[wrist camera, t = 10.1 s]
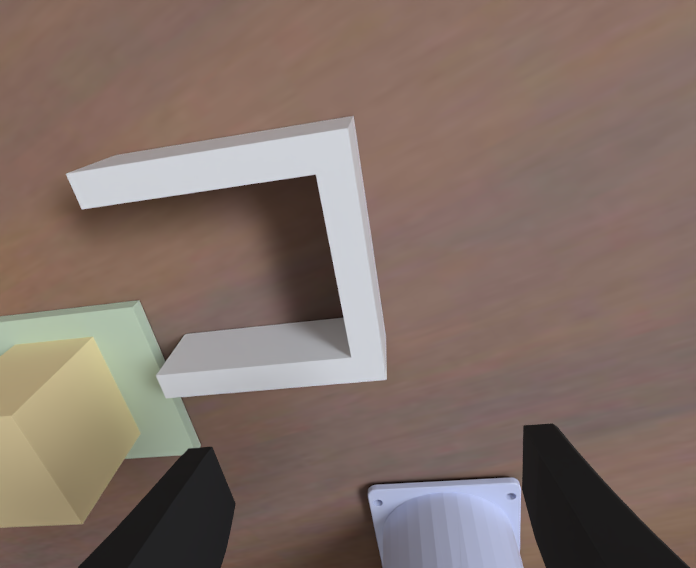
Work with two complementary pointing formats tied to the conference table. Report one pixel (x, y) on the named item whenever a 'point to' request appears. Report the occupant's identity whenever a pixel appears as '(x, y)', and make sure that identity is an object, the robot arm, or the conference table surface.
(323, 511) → the conference table surface
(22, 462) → the block
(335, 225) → the frame
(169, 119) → the conference table surface
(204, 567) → the robot arm
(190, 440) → the mat
